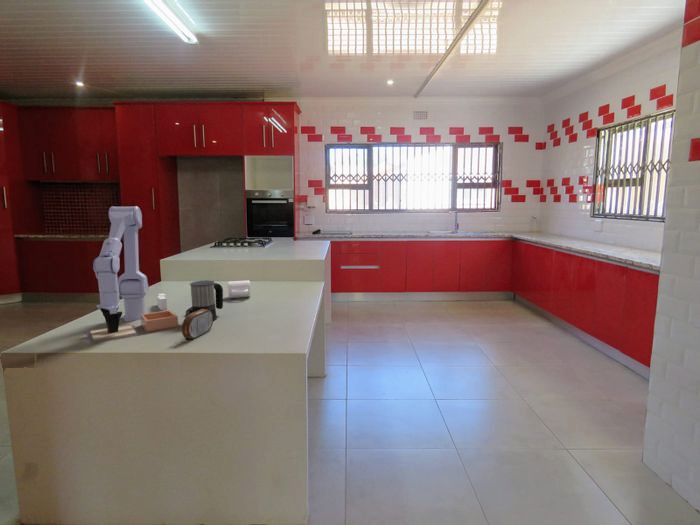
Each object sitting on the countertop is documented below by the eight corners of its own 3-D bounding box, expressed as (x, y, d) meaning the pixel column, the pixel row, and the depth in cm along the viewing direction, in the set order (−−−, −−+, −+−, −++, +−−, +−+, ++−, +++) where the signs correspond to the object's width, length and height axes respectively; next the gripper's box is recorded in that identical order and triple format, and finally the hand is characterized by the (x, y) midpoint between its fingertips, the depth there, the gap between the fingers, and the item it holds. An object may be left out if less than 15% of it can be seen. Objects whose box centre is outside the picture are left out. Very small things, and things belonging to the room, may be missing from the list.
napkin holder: (168, 312, 175) (167, 299, 174) (142, 312, 176) (140, 299, 175) (184, 303, 190) (183, 291, 189) (160, 303, 191) (159, 291, 190)
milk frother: (208, 323, 157) (206, 285, 155) (171, 321, 160) (168, 283, 158) (227, 313, 171) (225, 278, 169) (192, 311, 174) (190, 277, 172)
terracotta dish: (141, 326, 154) (140, 314, 153) (171, 321, 160) (170, 310, 159) (147, 333, 146) (146, 321, 145) (178, 328, 152) (177, 316, 151)
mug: (228, 296, 202) (227, 280, 201) (249, 294, 205) (248, 278, 204) (229, 302, 190) (228, 285, 189) (251, 300, 193) (250, 283, 192)
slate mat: (86, 334, 146) (85, 332, 146) (133, 326, 154) (133, 324, 154) (90, 345, 134) (89, 344, 134) (141, 336, 143) (141, 335, 142)
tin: (207, 328, 151) (206, 305, 150) (215, 328, 151) (214, 306, 149) (181, 342, 137) (180, 317, 136) (190, 342, 136) (188, 317, 135)
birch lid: (90, 332, 145) (89, 321, 145) (130, 326, 153) (129, 315, 152) (94, 342, 135) (92, 330, 135) (136, 334, 143) (135, 323, 142)
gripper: (93, 289, 145) (97, 326, 147) (97, 296, 134) (101, 337, 136) (116, 286, 149) (119, 323, 151) (122, 293, 138) (126, 333, 140)
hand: (112, 329), depth 144 cm, fingers open, 6 cm apart
